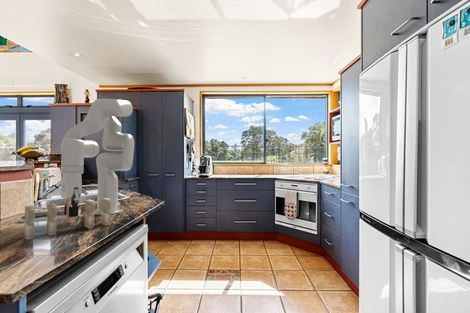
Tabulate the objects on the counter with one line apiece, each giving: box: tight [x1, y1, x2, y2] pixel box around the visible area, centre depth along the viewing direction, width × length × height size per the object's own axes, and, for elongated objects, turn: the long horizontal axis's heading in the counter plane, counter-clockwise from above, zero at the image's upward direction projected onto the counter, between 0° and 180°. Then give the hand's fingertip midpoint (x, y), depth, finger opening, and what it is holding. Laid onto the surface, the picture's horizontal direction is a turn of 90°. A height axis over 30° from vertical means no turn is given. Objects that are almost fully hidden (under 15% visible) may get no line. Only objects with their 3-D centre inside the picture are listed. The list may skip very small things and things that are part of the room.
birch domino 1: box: [24, 205, 36, 240], centre depth 89 cm, size 2×5×11 cm, turn 48°
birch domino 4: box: [100, 198, 112, 226], centre depth 108 cm, size 2×5×11 cm, turn 48°
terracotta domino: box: [65, 197, 77, 224], centre depth 98 cm, size 2×5×11 cm, turn 49°
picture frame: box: [19, 209, 82, 223], centre depth 120 cm, size 16×3×21 cm
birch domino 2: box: [46, 202, 58, 236], centre depth 94 cm, size 2×5×11 cm, turn 49°
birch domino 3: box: [84, 199, 96, 229], centre depth 103 cm, size 2×5×11 cm, turn 48°
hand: (71, 215), depth 98 cm, fingers closed on terracotta domino, 4 cm apart
